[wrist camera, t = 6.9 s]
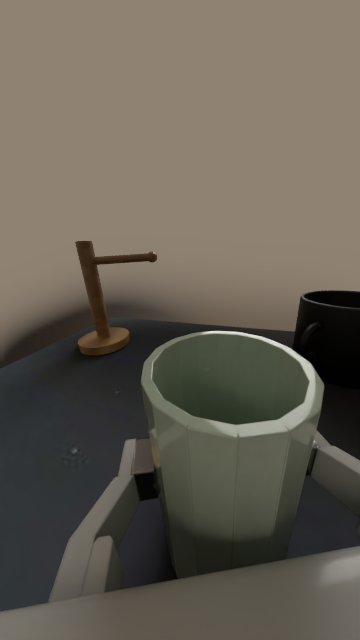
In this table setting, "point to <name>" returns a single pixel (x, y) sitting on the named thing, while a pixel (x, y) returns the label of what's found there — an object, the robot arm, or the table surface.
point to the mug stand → (102, 301)
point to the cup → (229, 446)
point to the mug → (330, 335)
